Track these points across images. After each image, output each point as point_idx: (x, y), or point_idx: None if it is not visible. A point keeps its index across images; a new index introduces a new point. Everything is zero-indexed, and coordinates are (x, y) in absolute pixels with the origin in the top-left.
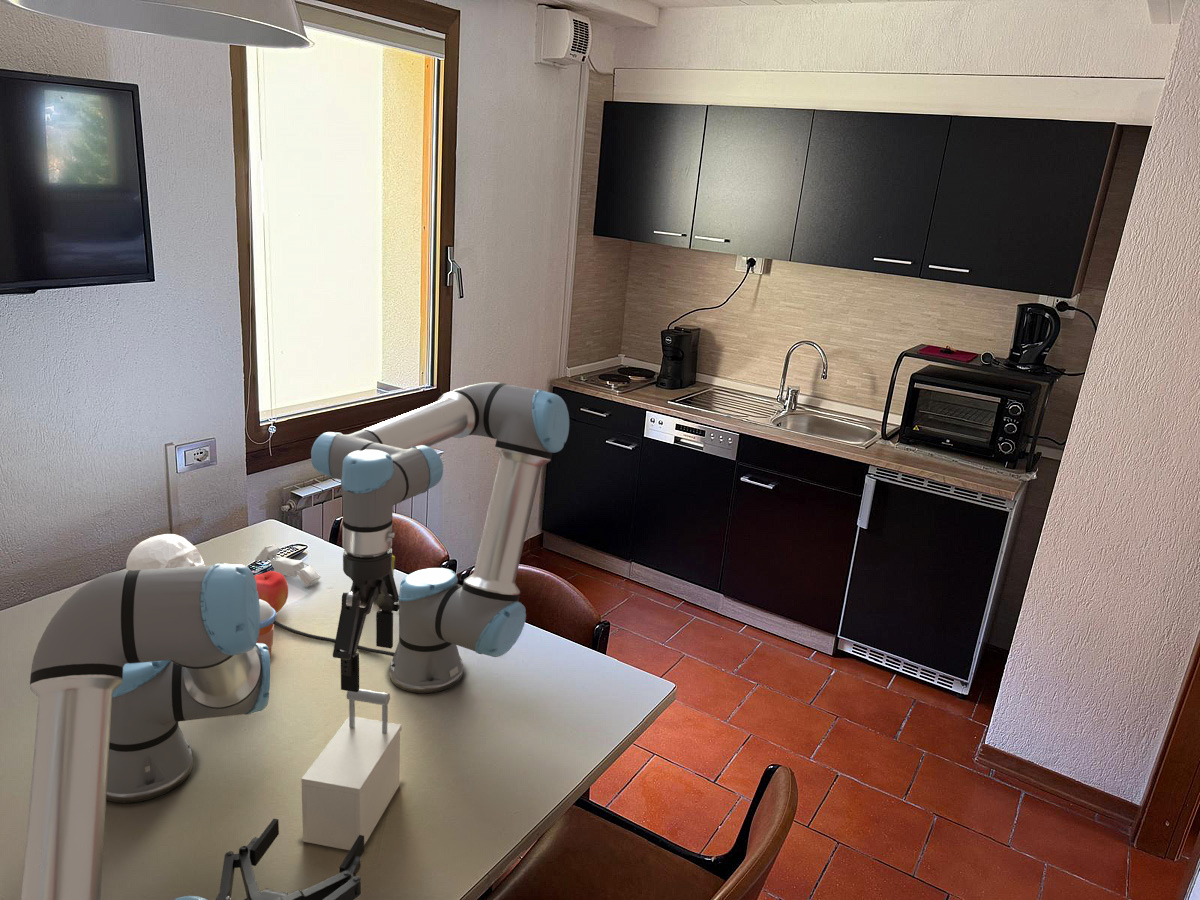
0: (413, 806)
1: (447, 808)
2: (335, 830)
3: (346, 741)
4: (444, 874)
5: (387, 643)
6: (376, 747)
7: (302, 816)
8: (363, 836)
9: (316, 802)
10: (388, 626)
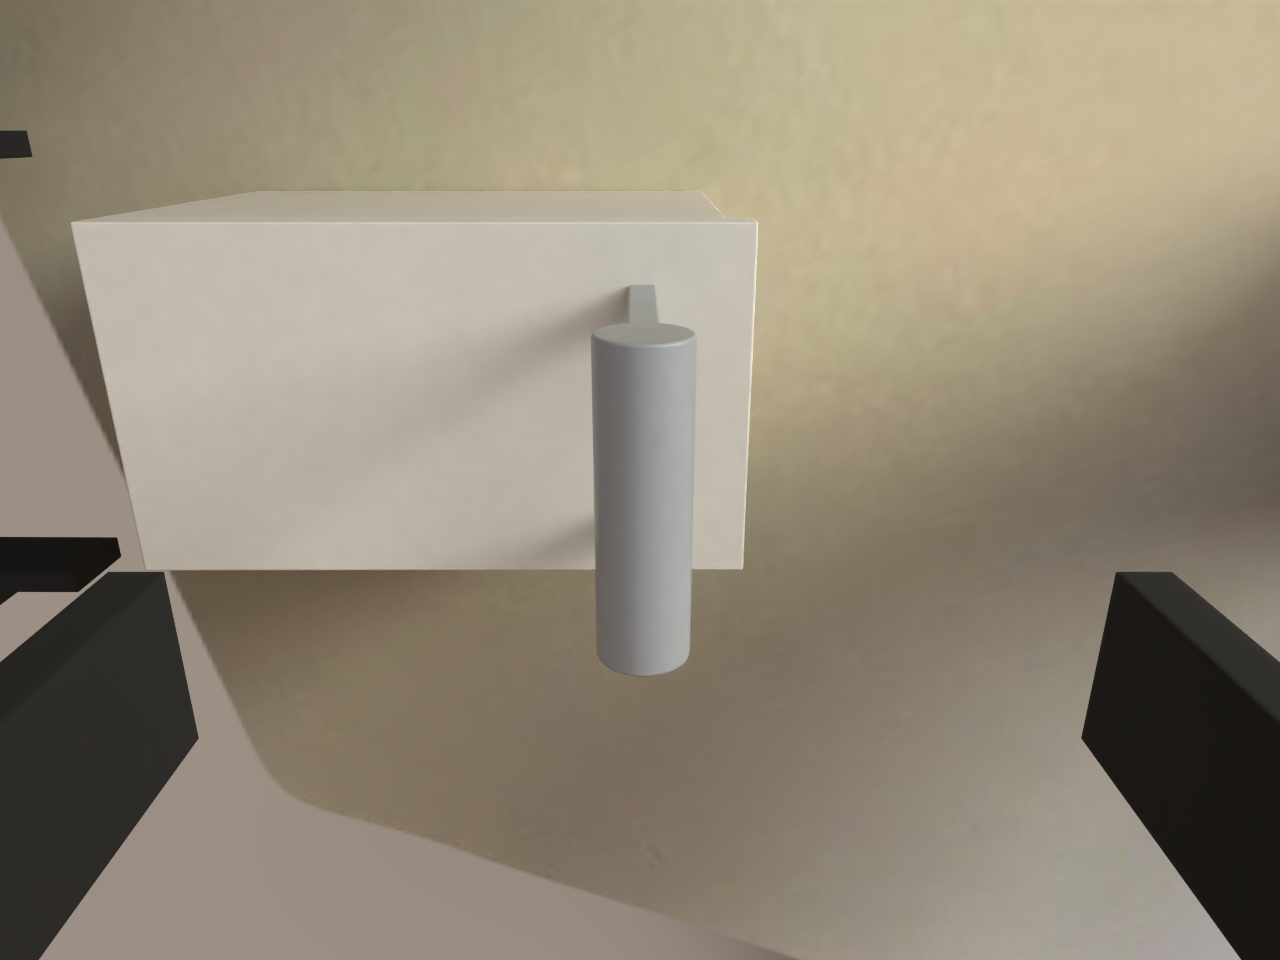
0: None
1: None
2: None
3: (492, 328)
4: (313, 727)
5: (1118, 739)
6: (495, 518)
7: (200, 200)
8: (73, 591)
9: None
10: (1274, 958)
